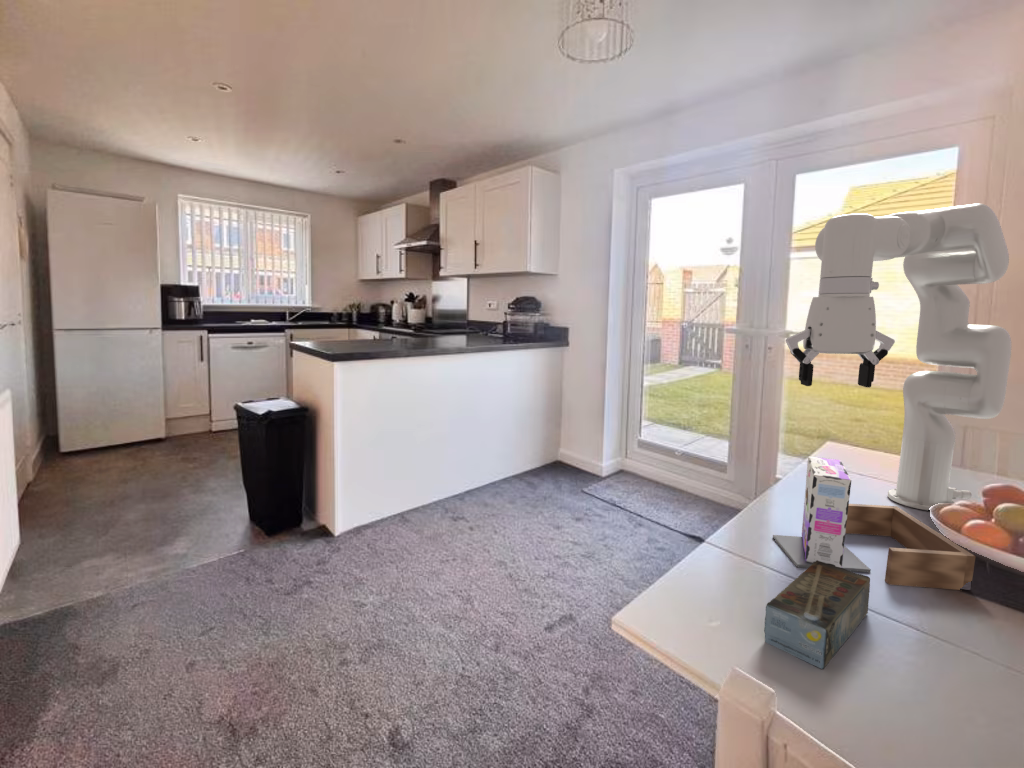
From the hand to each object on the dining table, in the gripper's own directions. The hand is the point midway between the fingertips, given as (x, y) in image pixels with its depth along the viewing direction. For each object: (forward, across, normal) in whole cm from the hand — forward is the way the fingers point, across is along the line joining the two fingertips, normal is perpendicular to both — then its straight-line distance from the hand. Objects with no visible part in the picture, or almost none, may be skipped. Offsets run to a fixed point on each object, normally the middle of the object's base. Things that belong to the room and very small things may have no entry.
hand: (834, 385), depth 90 cm
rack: (+32, -13, -1) cm, 35 cm away
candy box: (+32, 0, 0) cm, 32 cm away
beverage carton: (+32, +10, +24) cm, 42 cm away
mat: (+32, 0, 0) cm, 32 cm away
